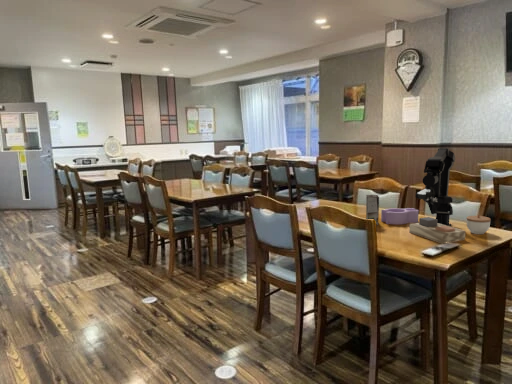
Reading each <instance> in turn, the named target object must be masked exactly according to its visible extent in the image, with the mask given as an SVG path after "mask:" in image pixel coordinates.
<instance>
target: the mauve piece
mask: <svg viewBox="0 0 512 384" xmlns="http://www.w3.org/2000/svg"><path fill="white" fill-rule="evenodd" d="M380 212H381V213H380V214H381V215H380V222H385V224H386V225H389V224H390V225H405V224H414V223H419V212H420V211H419V209H416V208H413V207H411V208H410V207H407V208H406V207H405V208H398V207H397V208H395V207H394V208H393V207H392V208H391V207H390V208H384V209H381V210H380Z"/></svg>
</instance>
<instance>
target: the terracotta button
mask: <svg viewBox="0 0 512 384" xmlns="http://www.w3.org/2000/svg"><path fill="white" fill-rule="evenodd" d="M448 226H449V225H448ZM448 226H440V227H436V230H439V231H442V232H451V231H455V228H456V227H453V228H451V227H452V226H450V227H448Z"/></svg>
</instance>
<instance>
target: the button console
mask: <svg viewBox="0 0 512 384" xmlns="http://www.w3.org/2000/svg"><path fill="white" fill-rule="evenodd" d="M440 226H446V225H443V224H439V223H437V226H433V227H426V226H422V225H419V222H415V223H409V228H408V231H409V233H410V234H413V235H416V236H419V237H422V238H425V239H428V240H431V241H434V242H437V243H439V244H442V243H443V244H446V242H449V243H454V242H460V241H465V240H466V230H463V229H460V228H457V227H452V226H451V225H448V227H451V228H455V231H451V232H442V231H439V230H436V227H440Z"/></svg>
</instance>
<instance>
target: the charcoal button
mask: <svg viewBox="0 0 512 384" xmlns="http://www.w3.org/2000/svg"><path fill="white" fill-rule="evenodd" d="M437 222H438V219H436V218H434V217H430V216H428V217H420V218H418V223H419V225H422V226H426V227H433V226H437Z"/></svg>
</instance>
